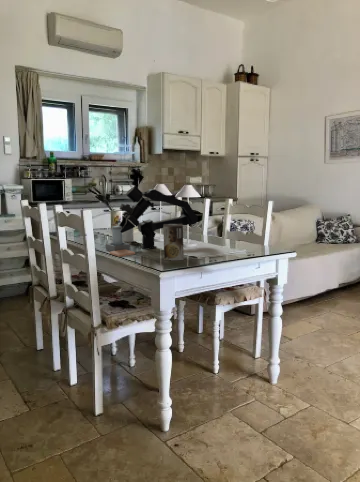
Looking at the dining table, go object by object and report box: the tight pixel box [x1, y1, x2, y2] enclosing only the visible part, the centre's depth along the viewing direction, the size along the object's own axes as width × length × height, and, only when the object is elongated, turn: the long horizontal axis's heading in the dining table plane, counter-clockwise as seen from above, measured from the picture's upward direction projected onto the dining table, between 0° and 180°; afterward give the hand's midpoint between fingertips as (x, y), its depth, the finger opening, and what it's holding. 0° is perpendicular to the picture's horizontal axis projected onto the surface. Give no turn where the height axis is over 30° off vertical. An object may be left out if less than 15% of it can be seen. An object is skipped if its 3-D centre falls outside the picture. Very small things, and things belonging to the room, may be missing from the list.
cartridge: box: [111, 225, 123, 246], centre depth 211 cm, size 5×5×12 cm
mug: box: [117, 219, 135, 243], centre depth 233 cm, size 10×7×12 cm, turn 122°
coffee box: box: [162, 224, 185, 261], centre depth 189 cm, size 9×6×16 cm
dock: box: [105, 242, 136, 258], centre depth 207 cm, size 19×12×3 cm, turn 39°
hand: (119, 230), depth 210 cm, fingers open, 9 cm apart
